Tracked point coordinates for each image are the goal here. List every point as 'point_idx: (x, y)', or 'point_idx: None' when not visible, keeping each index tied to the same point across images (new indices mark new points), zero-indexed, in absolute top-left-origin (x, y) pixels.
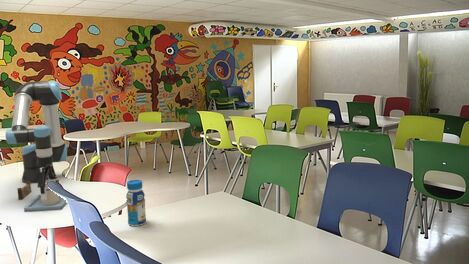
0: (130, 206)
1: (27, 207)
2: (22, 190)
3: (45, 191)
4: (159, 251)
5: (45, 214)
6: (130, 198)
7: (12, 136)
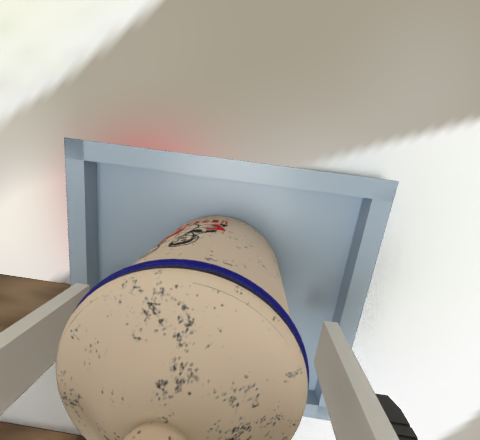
0: None
1: (325, 404)
2: None
3: (375, 403)
4: None
5: (433, 273)
6: None
7: None
